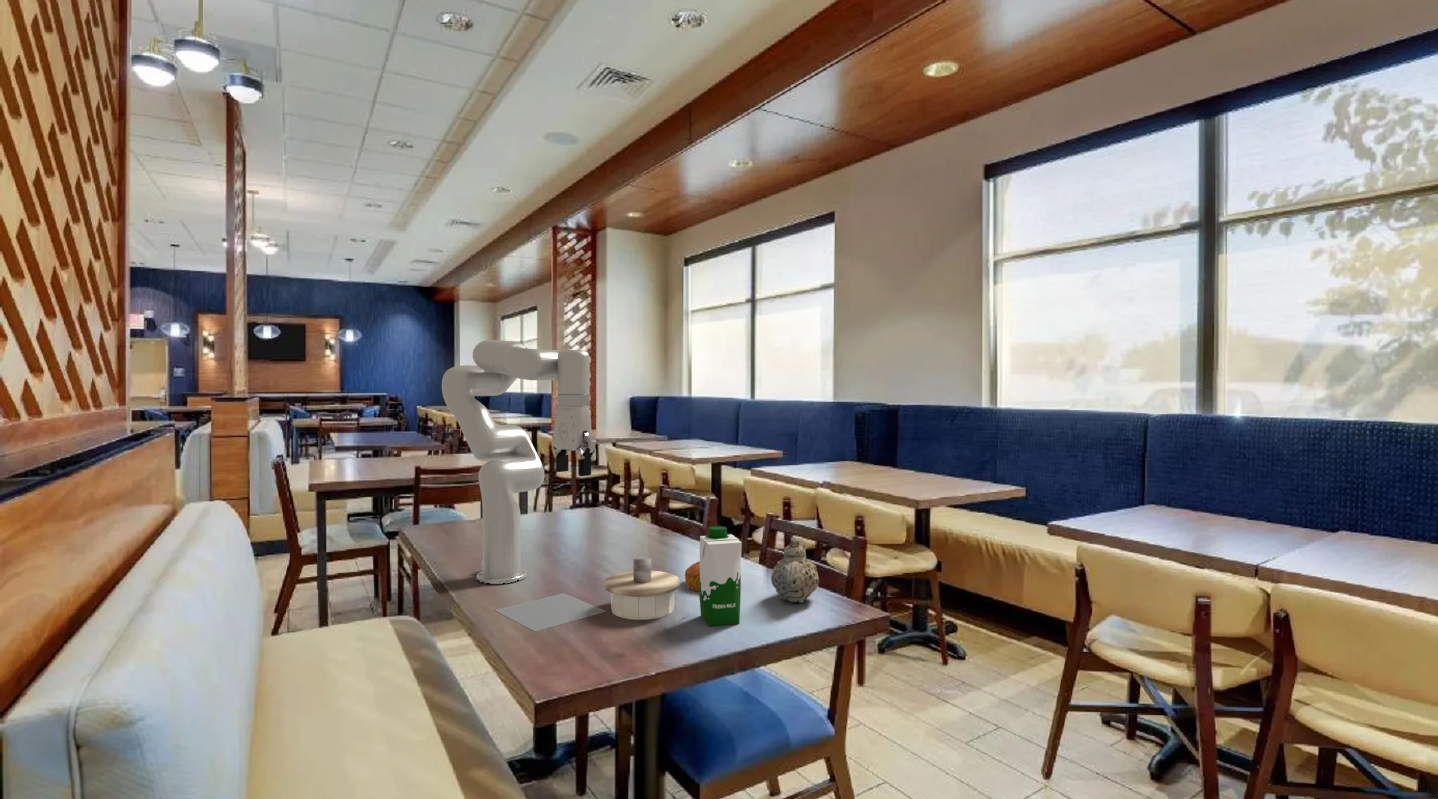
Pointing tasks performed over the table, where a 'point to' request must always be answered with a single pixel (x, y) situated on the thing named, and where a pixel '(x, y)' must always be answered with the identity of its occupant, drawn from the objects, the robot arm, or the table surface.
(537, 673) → the table surface
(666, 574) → the lid
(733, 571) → the milk carton
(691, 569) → the croissant
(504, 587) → the table surface
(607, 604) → the table surface
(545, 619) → the mat
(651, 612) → the bowl
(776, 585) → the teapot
